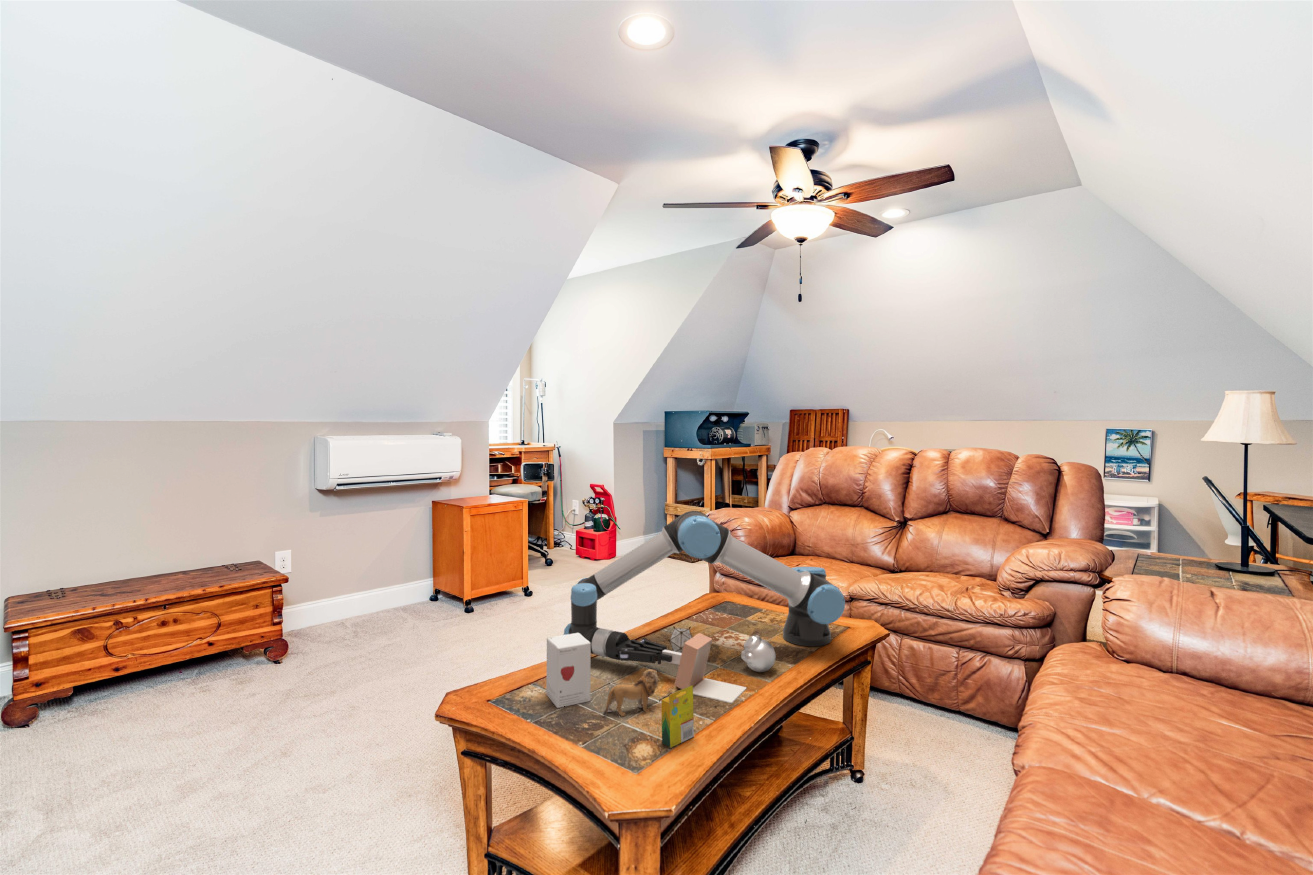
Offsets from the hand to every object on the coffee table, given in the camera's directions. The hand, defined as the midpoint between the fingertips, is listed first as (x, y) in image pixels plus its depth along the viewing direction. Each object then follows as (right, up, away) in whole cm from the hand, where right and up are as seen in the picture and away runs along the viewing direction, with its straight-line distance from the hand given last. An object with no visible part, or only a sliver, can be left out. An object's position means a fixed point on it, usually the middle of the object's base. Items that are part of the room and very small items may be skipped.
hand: (684, 659), depth 166 cm
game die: (0, -6, +21) cm, 22 cm away
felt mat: (+8, -6, -5) cm, 12 cm away
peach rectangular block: (+1, -6, 0) cm, 6 cm away
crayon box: (-3, -7, -30) cm, 31 cm away
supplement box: (-30, -7, -9) cm, 32 cm away
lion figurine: (-13, -7, -15) cm, 21 cm away
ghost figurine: (+21, -6, +8) cm, 24 cm away
